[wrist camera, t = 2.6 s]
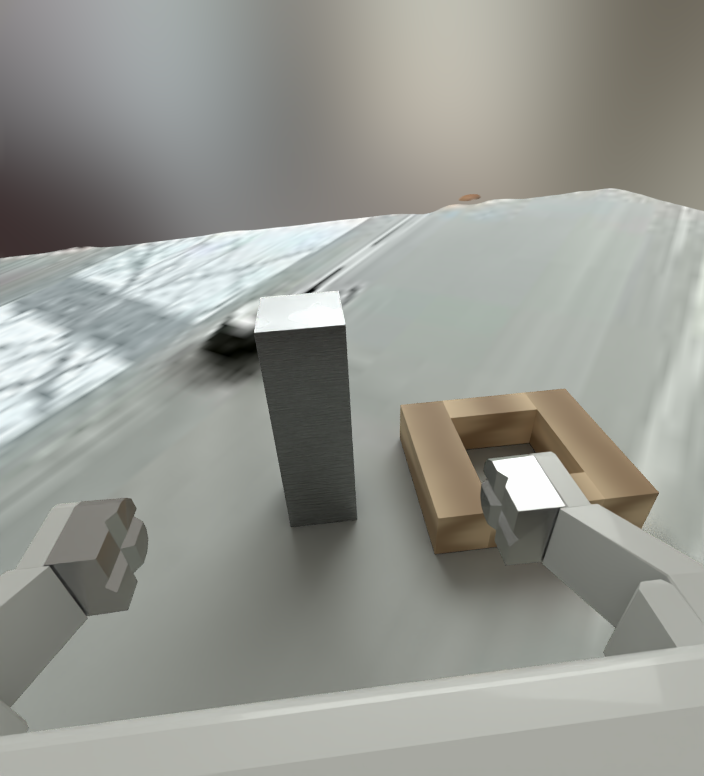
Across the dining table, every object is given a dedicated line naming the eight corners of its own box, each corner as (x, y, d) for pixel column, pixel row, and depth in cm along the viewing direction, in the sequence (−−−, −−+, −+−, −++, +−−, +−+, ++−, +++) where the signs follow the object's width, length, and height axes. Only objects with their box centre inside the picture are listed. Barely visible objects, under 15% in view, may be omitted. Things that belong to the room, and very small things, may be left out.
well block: (434, 554, 25) (438, 518, 23) (399, 437, 33) (400, 405, 31) (641, 529, 25) (659, 492, 24) (556, 421, 34) (564, 388, 32)
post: (291, 527, 27) (253, 332, 19) (291, 478, 30) (260, 297, 23) (357, 519, 27) (345, 324, 20) (350, 472, 30) (338, 290, 23)
